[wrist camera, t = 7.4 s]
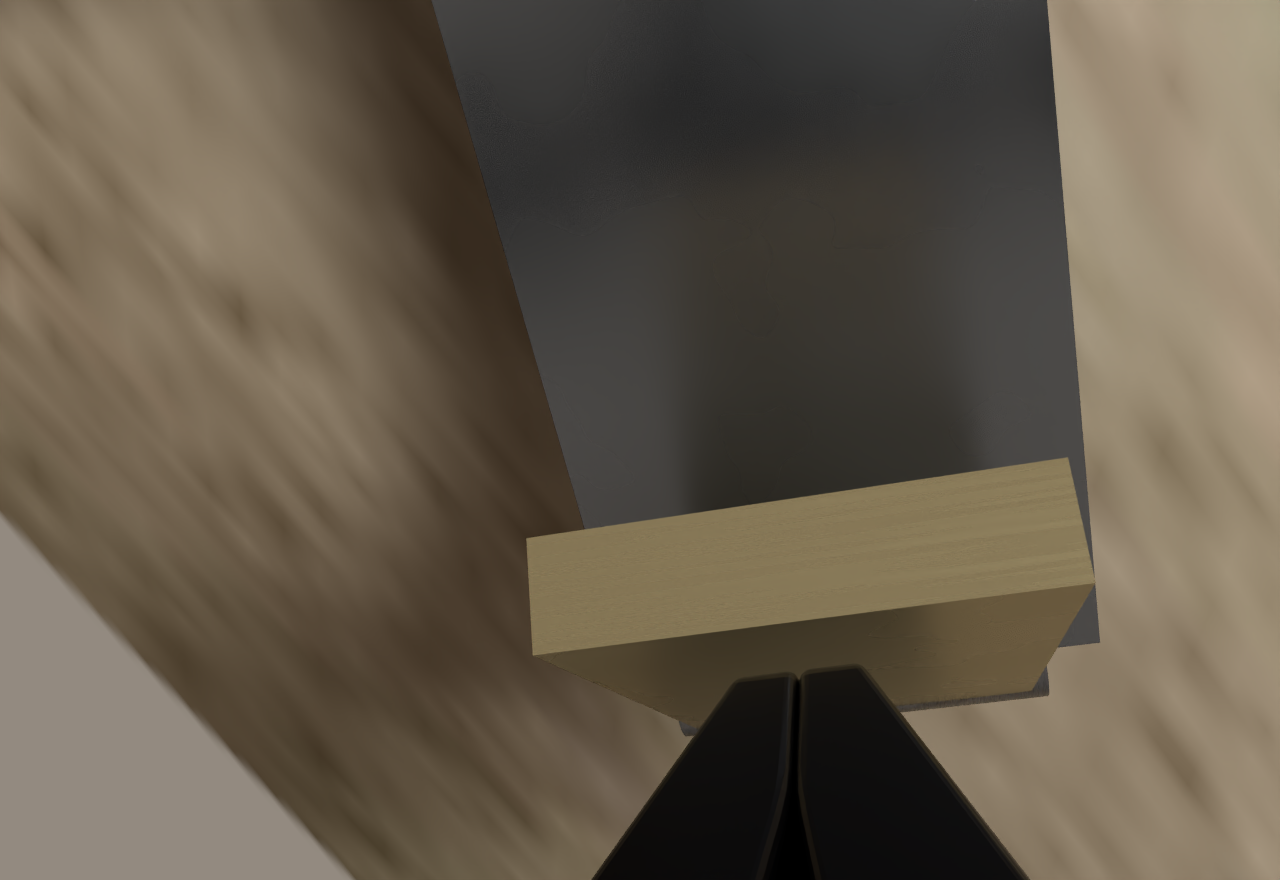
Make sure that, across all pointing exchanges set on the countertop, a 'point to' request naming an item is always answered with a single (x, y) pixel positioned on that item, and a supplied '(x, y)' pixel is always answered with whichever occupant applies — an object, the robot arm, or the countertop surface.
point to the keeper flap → (824, 592)
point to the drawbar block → (780, 241)
